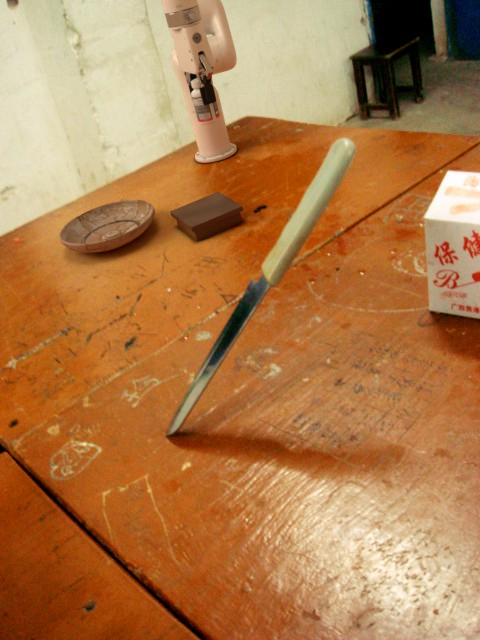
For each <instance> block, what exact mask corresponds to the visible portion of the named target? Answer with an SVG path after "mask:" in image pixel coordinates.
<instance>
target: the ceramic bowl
mask: <svg viewBox="0 0 480 640" xmlns="http://www.w3.org/2000/svg"><path fill="white" fill-rule="evenodd" d="M155 215H156V210H155V207H154V206H153V204H152V203H151V202H150V201H146V200H142V199H125V200H119V201H113V202H109V203H105V204H103V205H99V206H96V207H94V208H91V209H89V210H87V211H85V212H83V213H80V214H79V215H77V216H75V217H74V218H72V219H71V220H70V221H68V222H67V223H66V224H64V226H63V227H62V228H61V230H60V231H59V234H58V239H59V241H60V243H61V244H62V245H63V246H64V247H66V248H67V249H69V250H70V251H72V252H73V251H74V252H77V253H85V254H94V253H96V254H97V253H103V252H108V251H112V250H115V249H118V248H120V247H121V248H122V246H125V245H127V244H129V243H131V242H132V241H135V239H137V238H138V237H139V236H141V235H142V234H143V233H144V232H146V231H147V229H148V228H149V227H150V226H151V224H152V223H153V221H154V219H155Z"/></svg>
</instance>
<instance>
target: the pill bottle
mask: <svg viewBox="0 0 480 640" xmlns="http://www.w3.org/2000/svg"><path fill="white" fill-rule="evenodd" d="M201 78H202V79H203V77H201ZM191 85H192V88H193V89H194V90H193V91H192V93H191V97H192V101H193V104H194V108H195V112H196V116H197V119H198V123H199V124H200V125H207V124H212V123H214V122H216V121H218V120H219V119H220V114H219V110H218V106H217V102H214V103H211V104H208V105H203V101H202V97H201V93H200V89H199V88H200V87H201V86H200V84H199V81H198V78H196V79H194V80H192V81H191Z"/></svg>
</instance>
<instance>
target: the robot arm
mask: <svg viewBox="0 0 480 640" xmlns="http://www.w3.org/2000/svg"><path fill="white" fill-rule="evenodd" d="M160 3H161V5H162V10H163V13H164V14H163V15H164V17H165V21H166V24H167V28H168V31H169V34H170V35H171V37H172V40H173V45H174V49H173V50H172V51H171V54H170V61H171V65H172V69H173V71H174V73H175V76H176V78H177V80H178V82H179V86H180V88H181V91H182V94H183V98H184V102H185V105H186V109H187V112H188V116H189V120H190V123H191V127H192V132H193V135H194V140H195V142H196V147H197V150H198V151H197V152H196V153H195V154H194V159H195V161H196V162H197V163H200V164H208V163H209V164H210V163H215V162H220V161H223V160H225V159H228V158H230V157H232V156H233V155H234V154H235V153H236V152H237V150H238V148H237V145H236V144H235V143H232V142H231V140H230V137H229V132H228V128H227V123H226V120H225V116H224V111H223V107H222V103H221V98H220V95H219V91H218V89H217V87H215V86H214V85H213V84H214V81H213V76H214V75H218V74H222V73H225V72H228V71H231V70H233V69H235V67H236V65H237V62H238V61H237V52H236V51H237V50H236V47H235V44H234V40H233V37H232V32H231V27H230V25H229V21H228V18H227V14H226V11H225V7H224V5H223V2H222V0H160ZM209 35H211V36H209ZM201 77H203V79H202V78H201ZM196 78H198V81H199V84H200V86H201V87H200V88H199V89H200V93H201V97H202V101H203V105H208V104H211V103H214V102H217V106H218V110H219V114H220V119H219V120H218V121H216V122H214V123H212V124H207V125H200V124H199V123H198V119H197V116H196V112H195V108H194V104H193V101H192V97H191V93H192V91H193V90H194V89H193V88H192V85H191V81H192V80H194V79H196Z"/></svg>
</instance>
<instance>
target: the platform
mask: <svg viewBox="0 0 480 640" xmlns="http://www.w3.org/2000/svg"><path fill="white" fill-rule="evenodd" d="M241 212H244V207H243V205H241V204H240V203H238V202H236V201H235V200H234V199H231V198H230V197H228V196H227V195H225V194H223V193H221V192H220V191H215V192H213V193H211V194H208V195H206V196H204V197H202V198H199V199H197V200H194V201H191V202H189V203H186V204H185V205H182V206H179V207H177V208H175V209H173V210H170V211H169V214H170V216H171V217H172V218H173V219H174V220H175V221H176V224H177V227H178V228H180V229H181V230H182V231H183V232H184V233H186V234H187V235H189V237H191V238H192V239H194V240H195V241H196V242H199V241H201V240H205V239H207V238H208V237H211V236H214V235H215V234H219V233H220V232H223V231H224V230H226V229H229V228H232V227H234V226H236V225H238V224H241V223H243V220H242V215H241Z"/></svg>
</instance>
